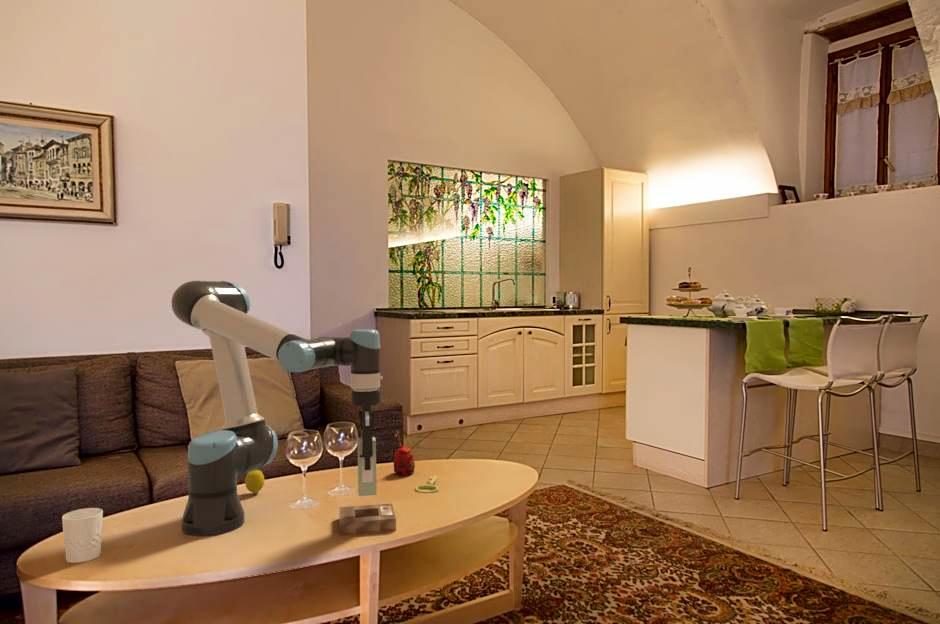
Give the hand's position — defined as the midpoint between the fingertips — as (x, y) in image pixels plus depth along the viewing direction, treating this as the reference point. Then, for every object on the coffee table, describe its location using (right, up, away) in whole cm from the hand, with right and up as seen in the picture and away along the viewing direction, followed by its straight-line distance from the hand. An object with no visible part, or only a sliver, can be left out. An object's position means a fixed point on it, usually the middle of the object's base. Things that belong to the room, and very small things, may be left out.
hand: (367, 478), depth 161 cm
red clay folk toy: (+4, -11, +47) cm, 49 cm away
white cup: (-61, -13, -20) cm, 66 cm away
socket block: (0, -12, 0) cm, 12 cm away
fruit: (-38, -12, +26) cm, 48 cm away
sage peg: (0, -4, 0) cm, 4 cm away
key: (+14, -12, +32) cm, 37 cm away
